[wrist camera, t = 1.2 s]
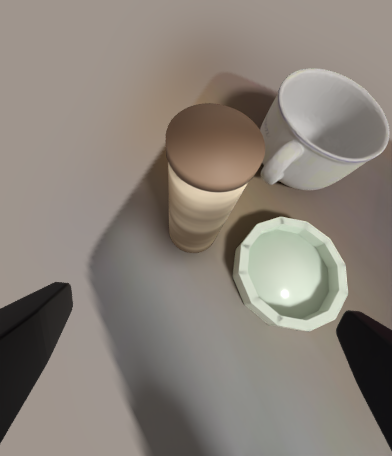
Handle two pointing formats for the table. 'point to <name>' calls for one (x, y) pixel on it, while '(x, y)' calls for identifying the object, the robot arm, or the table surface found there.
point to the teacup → (320, 130)
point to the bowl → (290, 274)
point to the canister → (208, 170)
